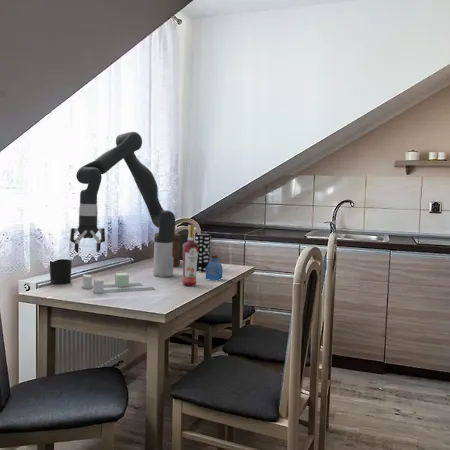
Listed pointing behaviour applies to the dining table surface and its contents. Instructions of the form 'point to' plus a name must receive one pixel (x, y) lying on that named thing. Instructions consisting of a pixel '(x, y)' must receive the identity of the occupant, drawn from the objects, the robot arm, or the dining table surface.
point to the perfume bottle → (214, 269)
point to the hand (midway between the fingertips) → (87, 252)
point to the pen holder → (60, 271)
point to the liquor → (190, 259)
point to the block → (121, 279)
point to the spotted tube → (203, 251)
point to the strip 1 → (88, 285)
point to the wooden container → (175, 250)
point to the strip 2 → (99, 289)
